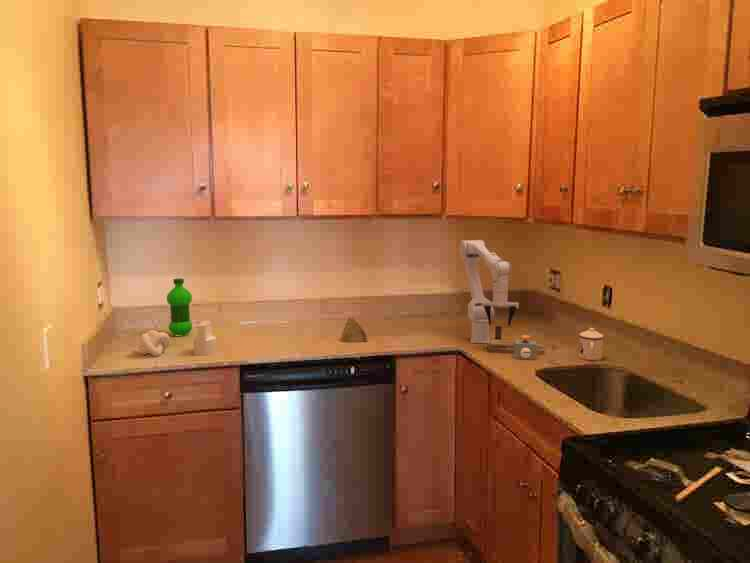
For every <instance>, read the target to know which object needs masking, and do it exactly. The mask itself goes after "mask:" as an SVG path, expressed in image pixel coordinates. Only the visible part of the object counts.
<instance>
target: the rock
mask: <svg viewBox="0 0 750 563" xmlns="http://www.w3.org/2000/svg"><path fill="white" fill-rule="evenodd" d="M367 341H368V336H367V334H366V332H365V329H363V328H362V326H361V325H360V323H359V322H358V321H356V320H355V319H354V318H353V317H348V318H347V321H346V322H345V324H344V328H343V331H342V334H341V337H340V343H355V342H356V343H359V342H360V343H361V342H367Z"/></svg>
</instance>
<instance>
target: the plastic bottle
mask: <svg viewBox="0 0 750 563" xmlns="http://www.w3.org/2000/svg"><path fill="white" fill-rule="evenodd" d="M184 279H185V278H174V279H173V284H174V287H173V288H172V289H171V290H170V291H169V292H168V293H167V295H166V302H167V304H168V305H169V306H170V307H169V308H170V322H169V325H168V329H169V331H170V332H171V334H173V335H174V336H175V335H179V336H178V337H181V336H180V335H185V336H187V335H188V334H189V333H190V332H191V331H192V329H193V323H192V321H191V320H190V318H191V317H190V304H191V303H192V300H193V295H192V293H191V292H190V291H189V290H188V289H187V288H185V287H184V286H183V285H184V283H185V280H184ZM186 334H187V335H186Z"/></svg>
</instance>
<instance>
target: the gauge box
mask: <svg viewBox="0 0 750 563" xmlns="http://www.w3.org/2000/svg"><path fill="white" fill-rule="evenodd" d="M513 343H514V353H513V357H514V359H515V360H530V359H536V360H537V354H536V349H537V341H536V340H531V339H530V340H527V343H524V340H522V339H514V341H513Z"/></svg>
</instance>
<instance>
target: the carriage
mask: <svg viewBox="0 0 750 563" xmlns="http://www.w3.org/2000/svg"><path fill="white" fill-rule="evenodd" d="M502 327H503V326H501V325H496V326H495V332H494V333H495V335H494V336H489V339H490V342H491V345H490V346H496V347H506V343H507V339H506V337H505V336H502Z"/></svg>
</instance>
